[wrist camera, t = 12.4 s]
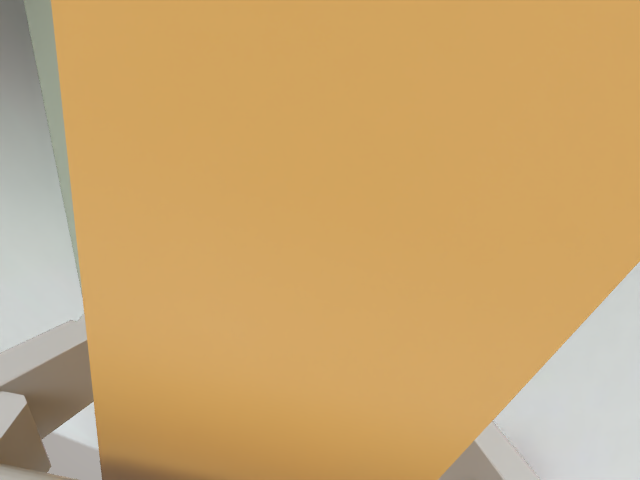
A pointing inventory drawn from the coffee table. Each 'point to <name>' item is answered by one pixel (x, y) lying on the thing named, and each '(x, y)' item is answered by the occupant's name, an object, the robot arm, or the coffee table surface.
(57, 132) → the tray
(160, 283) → the orange rectangular block
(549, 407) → the coffee table surface
